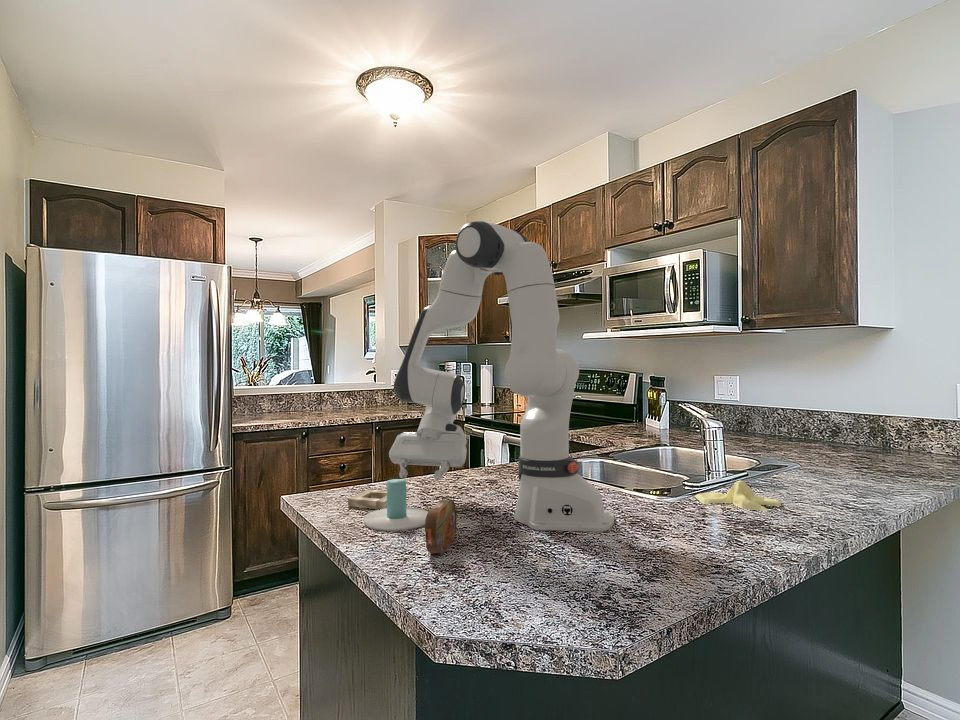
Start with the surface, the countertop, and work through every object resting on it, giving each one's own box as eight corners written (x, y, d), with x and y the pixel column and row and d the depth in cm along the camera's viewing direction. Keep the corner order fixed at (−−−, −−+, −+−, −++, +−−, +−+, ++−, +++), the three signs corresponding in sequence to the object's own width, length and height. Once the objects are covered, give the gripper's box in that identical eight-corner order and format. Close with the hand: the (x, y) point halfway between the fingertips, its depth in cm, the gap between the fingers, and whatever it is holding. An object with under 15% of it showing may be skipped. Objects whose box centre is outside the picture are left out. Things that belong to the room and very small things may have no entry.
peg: (409, 514, 128) (409, 479, 128) (401, 519, 124) (401, 483, 123) (392, 512, 129) (392, 478, 129) (383, 518, 125) (383, 482, 125)
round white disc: (440, 514, 131) (440, 509, 131) (413, 533, 117) (413, 528, 117) (383, 509, 136) (383, 505, 136) (351, 527, 121) (351, 522, 121)
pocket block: (402, 499, 145) (402, 492, 145) (384, 509, 135) (384, 501, 135) (368, 497, 148) (367, 489, 148) (348, 506, 138) (348, 498, 138)
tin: (438, 561, 101) (438, 515, 101) (422, 559, 102) (421, 514, 102) (458, 534, 116) (458, 494, 116) (443, 534, 117) (443, 494, 117)
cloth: (681, 500, 144) (681, 477, 144) (729, 491, 152) (729, 469, 152) (759, 523, 124) (759, 496, 124) (810, 511, 132) (809, 486, 132)
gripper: (394, 424, 148) (377, 468, 139) (466, 426, 142) (454, 472, 133) (402, 439, 153) (386, 482, 143) (472, 441, 146) (460, 487, 137)
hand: (419, 477), depth 138 cm, fingers open, 8 cm apart
